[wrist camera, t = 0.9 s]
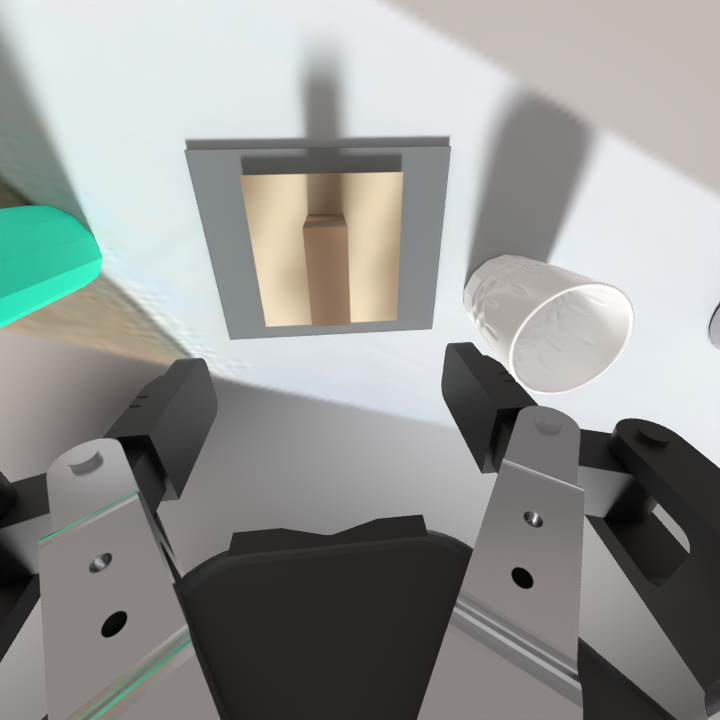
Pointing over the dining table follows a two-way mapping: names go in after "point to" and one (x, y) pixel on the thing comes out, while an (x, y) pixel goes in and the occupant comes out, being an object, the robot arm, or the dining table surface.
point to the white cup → (548, 322)
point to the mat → (223, 169)
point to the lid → (325, 246)
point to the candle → (42, 258)
